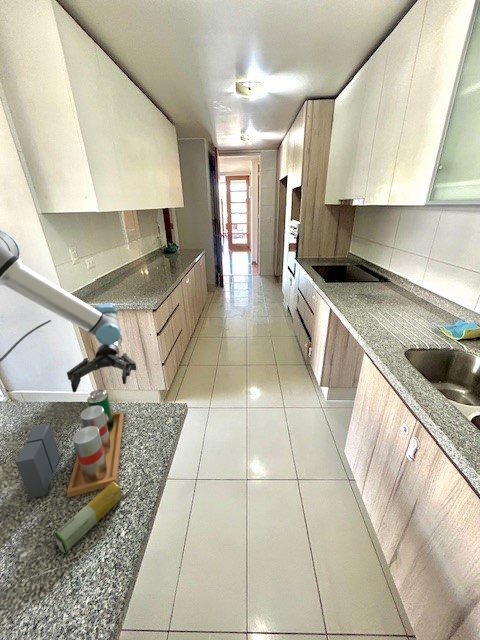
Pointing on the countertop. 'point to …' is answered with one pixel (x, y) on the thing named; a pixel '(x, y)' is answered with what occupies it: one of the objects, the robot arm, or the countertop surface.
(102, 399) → the soda can
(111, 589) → the countertop surface
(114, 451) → the can tray
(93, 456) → the matching cans
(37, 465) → the grey packets
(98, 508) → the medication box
